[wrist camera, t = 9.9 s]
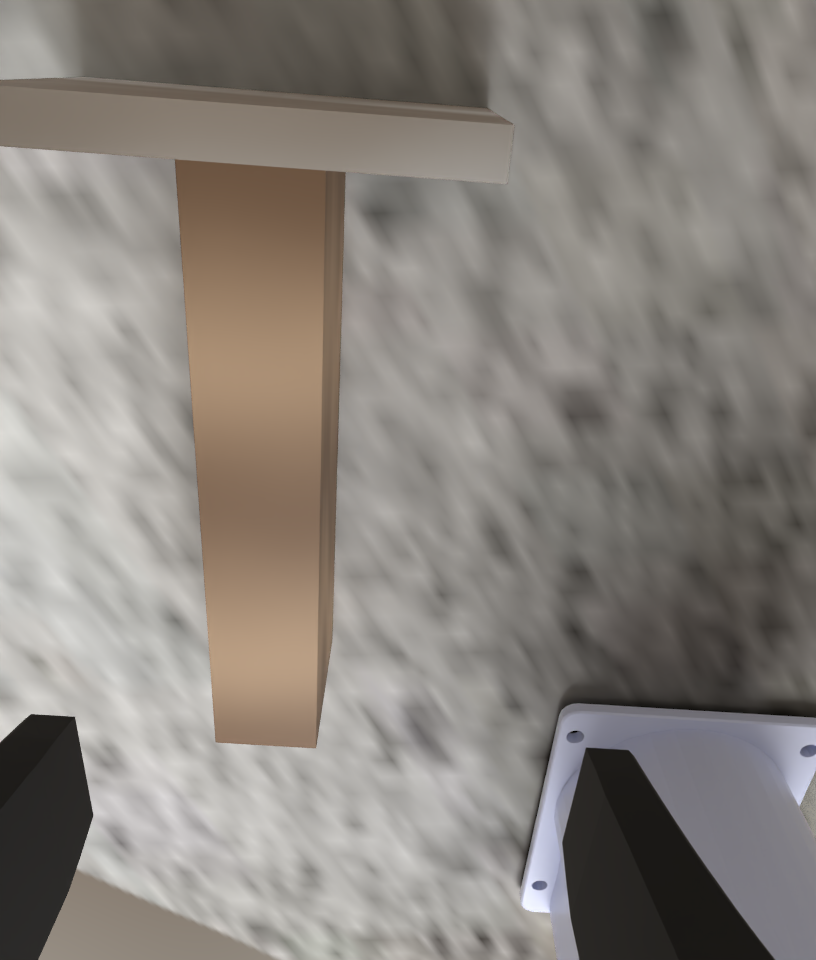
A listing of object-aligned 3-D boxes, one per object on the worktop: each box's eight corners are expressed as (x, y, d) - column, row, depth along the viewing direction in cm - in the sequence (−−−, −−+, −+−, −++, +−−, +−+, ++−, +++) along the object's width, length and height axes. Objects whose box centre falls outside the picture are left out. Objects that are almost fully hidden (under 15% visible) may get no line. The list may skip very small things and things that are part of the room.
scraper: (429, 644, 22) (432, 789, 18) (149, 627, 22) (81, 769, 17) (487, 107, 15) (514, 125, 11) (86, 76, 15) (-49, 81, 11)
